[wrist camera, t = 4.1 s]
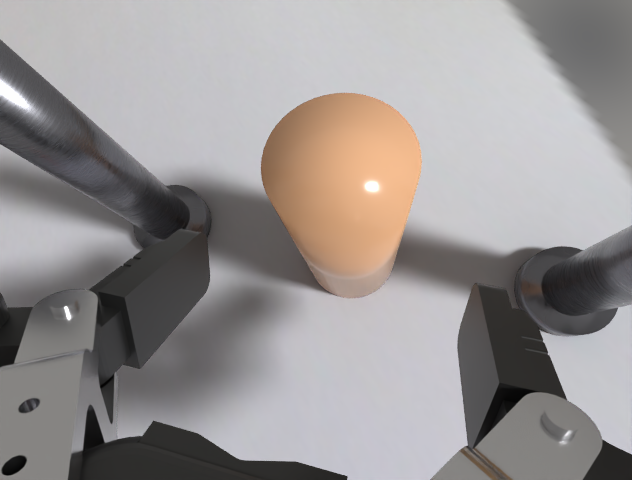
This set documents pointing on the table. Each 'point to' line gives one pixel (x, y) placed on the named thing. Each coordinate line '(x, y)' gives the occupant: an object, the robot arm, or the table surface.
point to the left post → (89, 156)
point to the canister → (344, 187)
